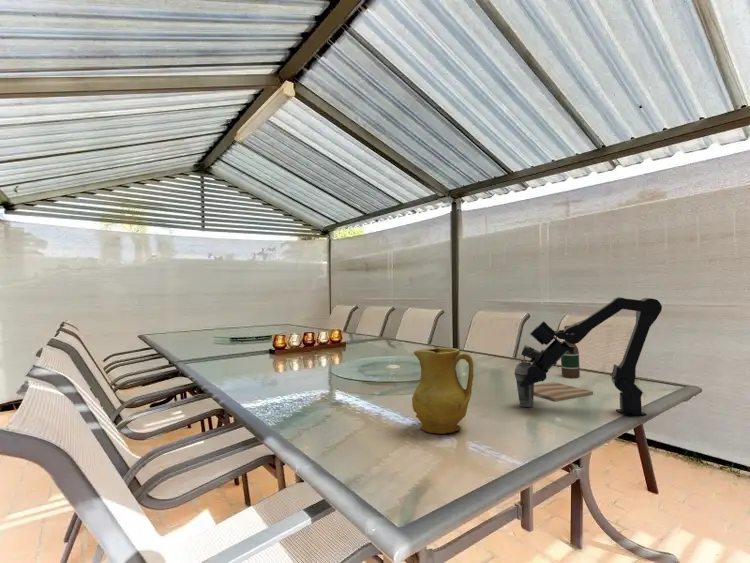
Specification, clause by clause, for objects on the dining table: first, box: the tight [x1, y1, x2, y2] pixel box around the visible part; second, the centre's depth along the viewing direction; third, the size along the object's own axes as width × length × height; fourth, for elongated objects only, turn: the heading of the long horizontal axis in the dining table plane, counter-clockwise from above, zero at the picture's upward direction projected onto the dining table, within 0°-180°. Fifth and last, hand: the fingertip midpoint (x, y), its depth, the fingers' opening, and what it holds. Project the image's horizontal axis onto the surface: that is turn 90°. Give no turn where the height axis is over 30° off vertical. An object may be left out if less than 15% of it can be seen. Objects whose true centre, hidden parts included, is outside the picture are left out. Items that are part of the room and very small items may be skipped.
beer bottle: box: [560, 325, 581, 379], centre depth 197 cm, size 8×8×24 cm
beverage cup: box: [513, 356, 535, 408], centre depth 152 cm, size 7×7×20 cm
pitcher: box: [411, 346, 474, 435], centre depth 131 cm, size 17×19×25 cm
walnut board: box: [517, 381, 594, 402], centre depth 170 cm, size 20×20×1 cm
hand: (521, 384), depth 153 cm, fingers closed on beverage cup, 7 cm apart
